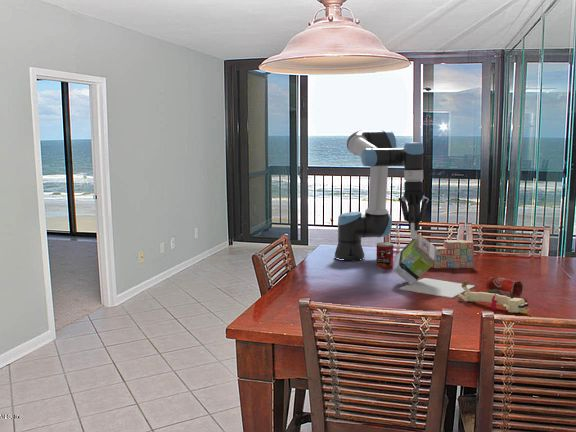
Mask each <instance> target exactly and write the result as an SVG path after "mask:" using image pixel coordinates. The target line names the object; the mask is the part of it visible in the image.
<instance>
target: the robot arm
mask: <svg viewBox="0 0 576 432" xmlns="http://www.w3.org/2000/svg"><path fill="white" fill-rule="evenodd" d="M397 146H398V145H397V140H396V136H395V134H394V132H393V131H392V130H386V129H373V130H372V129H369V130H363V129H362V130H357V131H355V132H353V133H352V134H350V136H349V137H348V138H347V140H346V147H347V150H348V151H349V153H351V154H352V155H354V156H359V157H360V159H361V164H362V165H363V166H364V167H370V170H369V171H370V172H369V188H368V189H369V191H368V206H367V208H366V209H365V213H364V214H362V212H361V211H351V212H345V213H341V214H340V215H339V216H338V217H337V218H338V219H337V246H336V248H335V252H334V258H335V257H336V258H339V259H344V260H359V261H361V260H360V259H363V258H364V259H365V252H364V248H363V245H362V238H385V237H387V236H389V235H390V233H391V230H392V227H393V218H392V216H391V214H390V213H389V210H388V209H387V207H386V206H387V192H388V191H387V190H388V173H389V170H388V169H389V167H404V168H403V171H404V174H403V175H404V176H403V177H404V180H405V181H404V185H403V186H404V193H403V196H401V197H399V198H398V201H399V203H400V206H401V211H402V215H403V220H404V221H405V222H407V223H408V231H410V240H412V239H416V238H417V235H418V231H419V229H420V223H421V222H424V221H425V216H426V211H427V206H428V204H429V201H430V198H429V197H426V196H425V193H424V181H423V180H424V151H425V150H424V144H423V143H422V142H417V141H416V142H405V143H404V144H403V147H397ZM364 259H363V260H364Z"/></svg>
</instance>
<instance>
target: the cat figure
mask: <svg viewBox="0 0 576 432" xmlns="http://www.w3.org/2000/svg"><path fill="white" fill-rule="evenodd" d="M469 283H470V282H469V281H468V280H463V282H462V283H461V284H462V288H463V289H464V290H465V292H463V293H461V294H458V295H457V301H458V302H463V301H464V302H471V303H474V302H476V303H477V302H478V303H481V302H483V303H490V307H491V309H492V310H493V311H496V308H497V305H498V306H499V305H500V306H502V308H505V310H507V312H508V313H511V314H512V313H513V314H514V313H520V314H527V313H528V311H530V308H527V309H526V307H529V303H528V302H526V300H525V299H524V298H521V297H519V298H516V297H515V298H511V297H508V296H506V295H505V293H503V292H501V293H502V294H503V295H499V294H493V293H491V292H483V291H478V292H477V291H471V289H468V288H467V285H470V284H469Z"/></svg>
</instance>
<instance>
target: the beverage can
mask: <svg viewBox="0 0 576 432" xmlns="http://www.w3.org/2000/svg"><path fill="white" fill-rule="evenodd" d="M485 285H486V290H487V292H488V293H493V294H499V295H503V294H502V293H501V292H503V293H505V295H506V296H508V297H511V298H521V297H520V296H522V294H523V289H524V286H523V282H521V281H519V280H515V279H510V278H504V277H499V276H490V277H489V278H488V279H487V281H486V283H485Z"/></svg>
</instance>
